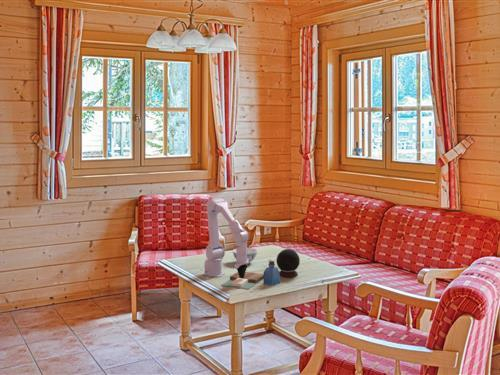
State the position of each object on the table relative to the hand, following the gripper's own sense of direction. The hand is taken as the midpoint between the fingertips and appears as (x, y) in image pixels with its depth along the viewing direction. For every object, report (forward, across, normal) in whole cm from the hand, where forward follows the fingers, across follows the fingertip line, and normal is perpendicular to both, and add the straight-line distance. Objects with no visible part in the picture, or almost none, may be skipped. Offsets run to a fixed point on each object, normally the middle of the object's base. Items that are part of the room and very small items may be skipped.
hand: (241, 278), depth 301 cm
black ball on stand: (+3, +24, -18) cm, 30 cm away
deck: (+3, +8, 0) cm, 8 cm away
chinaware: (+3, +38, +15) cm, 41 cm away
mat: (+3, -4, 0) cm, 5 cm away
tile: (+2, -3, 0) cm, 4 cm away
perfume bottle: (+3, +6, -15) cm, 16 cm away
